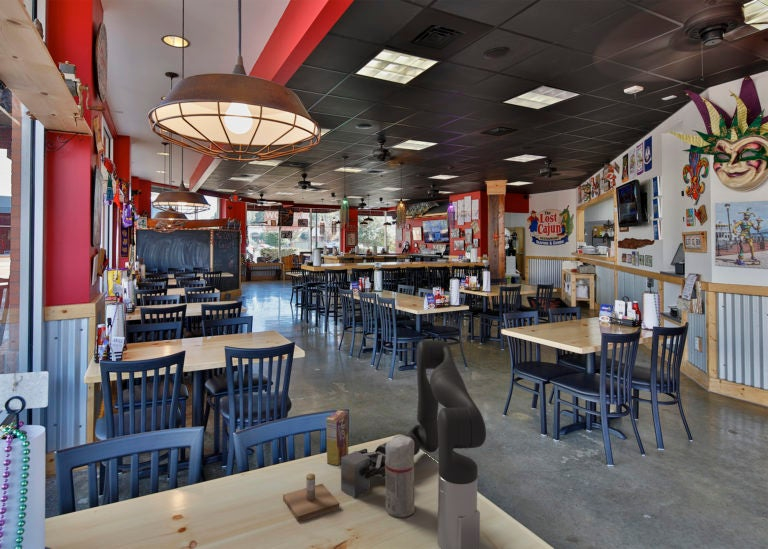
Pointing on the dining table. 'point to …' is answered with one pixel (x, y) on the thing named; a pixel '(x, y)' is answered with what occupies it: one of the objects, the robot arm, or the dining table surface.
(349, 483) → the brushed steel block
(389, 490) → the white spray can
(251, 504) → the dining table surface
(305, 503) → the wooden square base
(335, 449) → the candy box
